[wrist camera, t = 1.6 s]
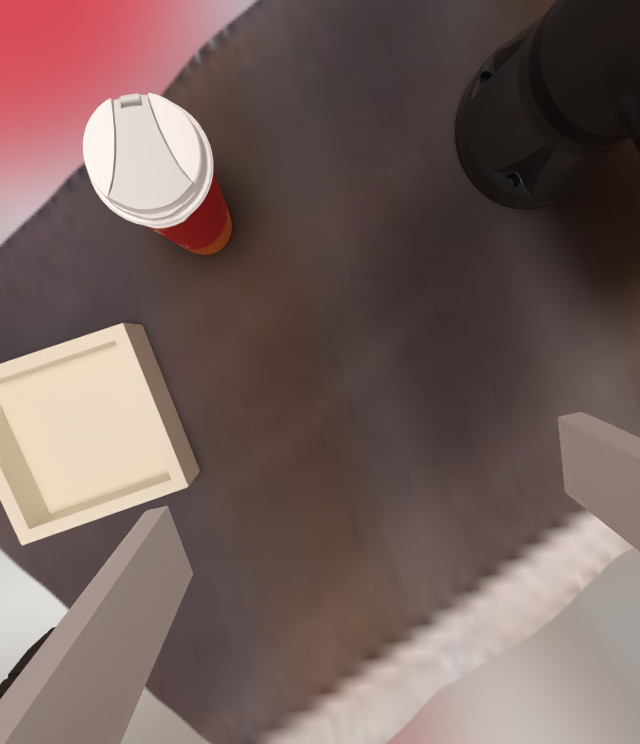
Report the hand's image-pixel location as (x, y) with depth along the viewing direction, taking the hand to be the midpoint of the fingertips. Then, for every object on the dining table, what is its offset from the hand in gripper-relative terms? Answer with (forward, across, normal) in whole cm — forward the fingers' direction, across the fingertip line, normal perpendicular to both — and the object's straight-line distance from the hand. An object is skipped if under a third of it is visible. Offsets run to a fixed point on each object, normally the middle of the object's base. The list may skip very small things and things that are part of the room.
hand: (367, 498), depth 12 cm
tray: (+24, -25, -1) cm, 34 cm away
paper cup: (+27, -9, +16) cm, 32 cm away
